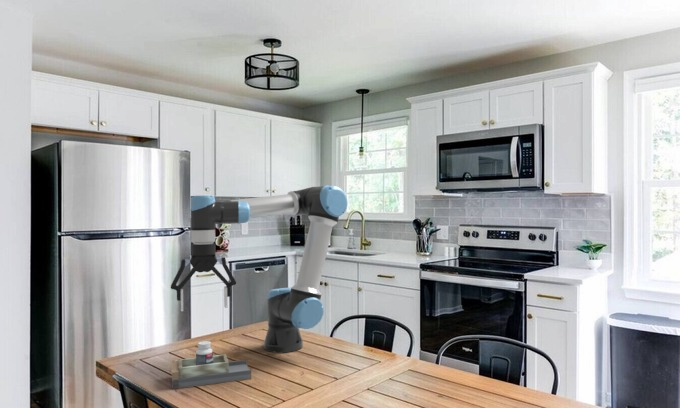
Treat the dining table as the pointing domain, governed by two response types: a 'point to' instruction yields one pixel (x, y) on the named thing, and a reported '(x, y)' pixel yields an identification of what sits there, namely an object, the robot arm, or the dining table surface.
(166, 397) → the dining table surface
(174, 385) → the rail board
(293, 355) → the dining table surface
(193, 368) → the caddy
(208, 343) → the pill bottle
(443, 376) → the dining table surface
